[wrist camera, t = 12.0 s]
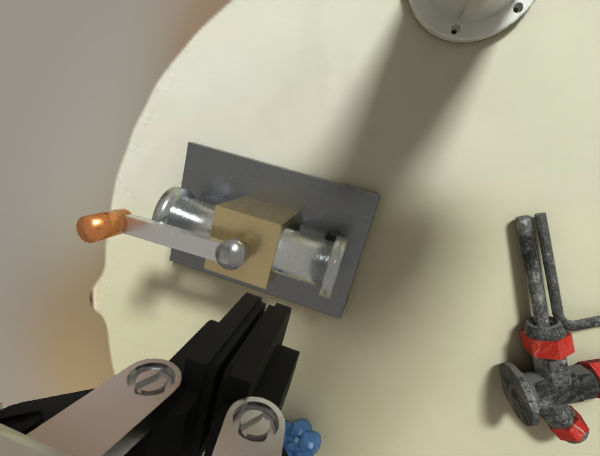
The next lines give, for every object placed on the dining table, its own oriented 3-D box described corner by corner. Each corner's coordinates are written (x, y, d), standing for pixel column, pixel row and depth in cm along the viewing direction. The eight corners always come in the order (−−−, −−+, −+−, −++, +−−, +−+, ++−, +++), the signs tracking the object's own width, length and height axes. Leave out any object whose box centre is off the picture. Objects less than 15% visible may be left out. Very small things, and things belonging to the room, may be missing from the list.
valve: (635, 404, 39) (505, 425, 40) (604, 192, 36) (465, 223, 38) (695, 447, 33) (538, 470, 34) (663, 193, 30) (493, 231, 31)
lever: (251, 241, 31) (230, 257, 26) (246, 268, 32) (224, 287, 27) (119, 203, 33) (77, 211, 29) (117, 229, 34) (75, 240, 29)
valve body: (193, 142, 41) (140, 138, 32) (379, 194, 38) (382, 207, 28) (174, 257, 45) (122, 284, 36) (341, 314, 42) (332, 360, 32)
